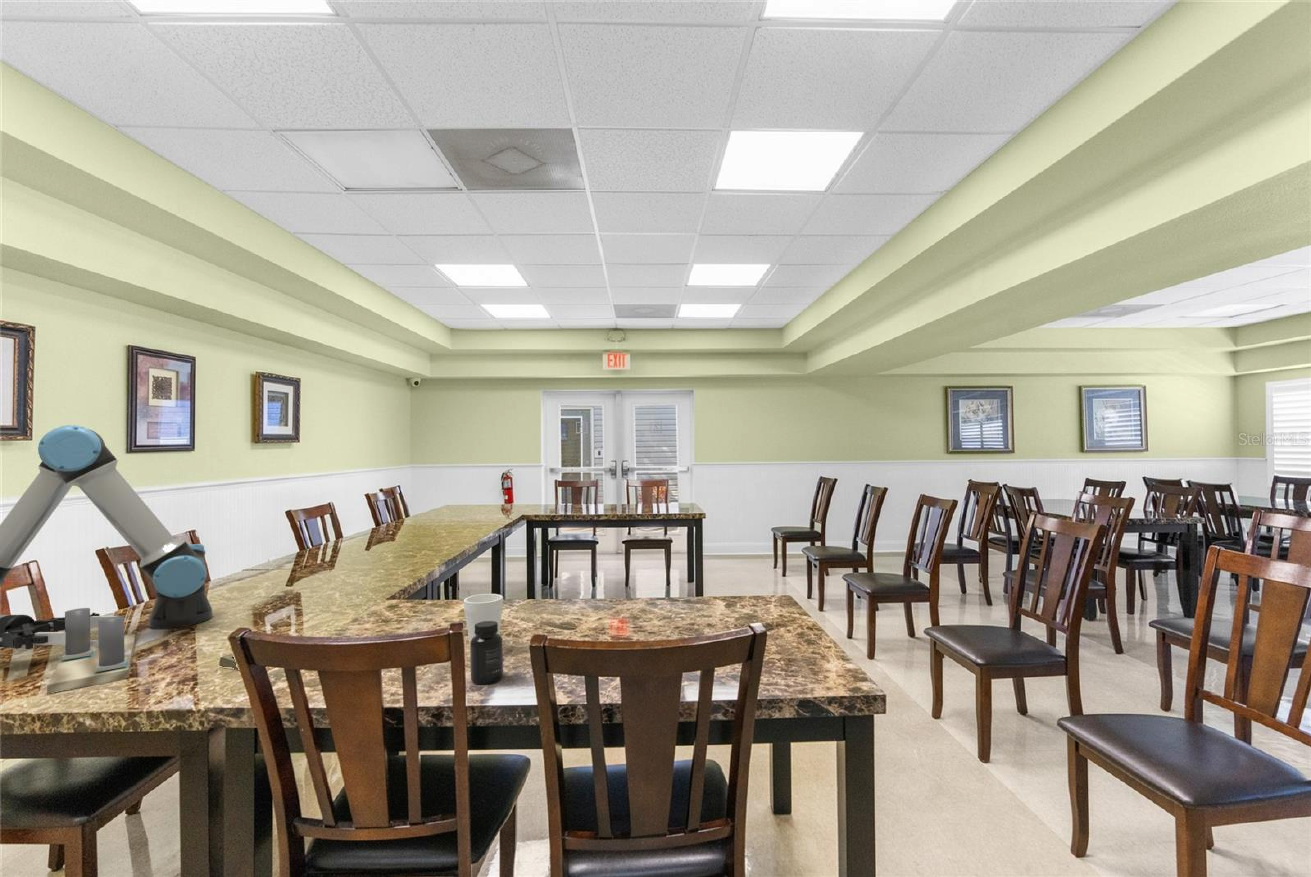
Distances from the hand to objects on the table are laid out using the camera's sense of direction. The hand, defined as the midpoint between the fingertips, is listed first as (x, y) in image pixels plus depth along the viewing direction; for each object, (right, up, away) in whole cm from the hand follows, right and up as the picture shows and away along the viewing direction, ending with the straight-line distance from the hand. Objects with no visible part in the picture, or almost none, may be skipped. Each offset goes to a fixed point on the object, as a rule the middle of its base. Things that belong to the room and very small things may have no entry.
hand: (91, 629), depth 146 cm
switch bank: (+1, -8, 0) cm, 9 cm away
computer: (+40, -8, +2) cm, 41 cm away
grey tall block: (+13, -6, -8) cm, 16 cm away
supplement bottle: (+100, -6, -15) cm, 101 cm away
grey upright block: (-3, -7, 0) cm, 7 cm away
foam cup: (+94, -7, +3) cm, 95 cm away
